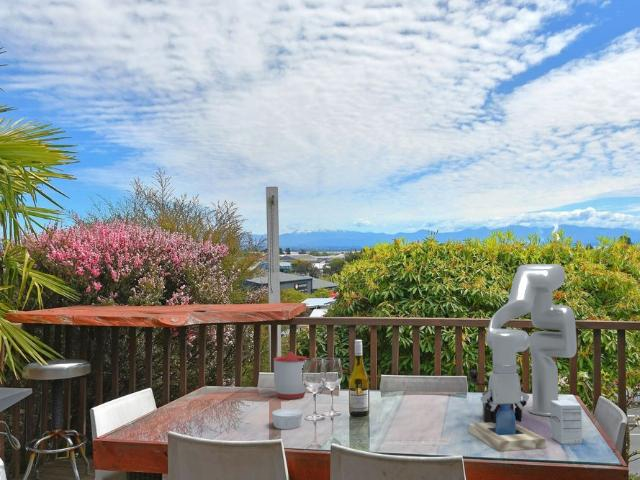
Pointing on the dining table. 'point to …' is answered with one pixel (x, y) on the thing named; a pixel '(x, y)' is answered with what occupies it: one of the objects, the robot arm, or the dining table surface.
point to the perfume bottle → (505, 420)
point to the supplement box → (566, 422)
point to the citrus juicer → (289, 376)
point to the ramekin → (287, 418)
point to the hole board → (507, 437)
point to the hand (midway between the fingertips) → (505, 421)
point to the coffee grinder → (473, 376)
